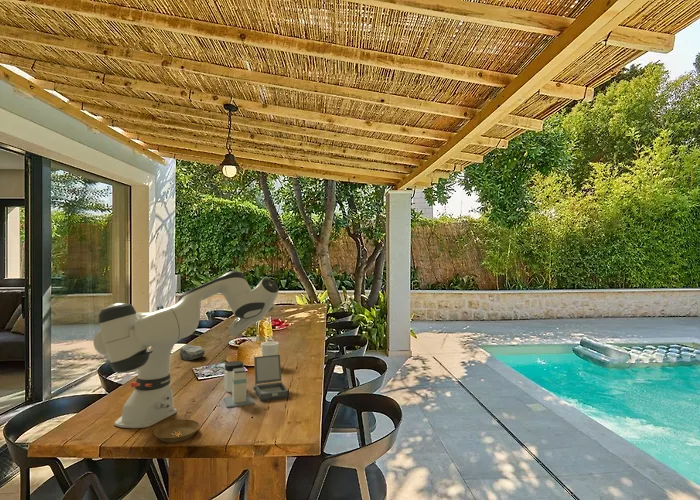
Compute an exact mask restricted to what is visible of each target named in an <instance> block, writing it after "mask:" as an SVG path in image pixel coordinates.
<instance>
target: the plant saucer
mask: <svg viewBox="0 0 700 500" xmlns="http://www.w3.org/2000/svg"><path fill="white" fill-rule="evenodd" d="M200 427H201V424H200V423H199V421H196V420H193V419H177V420H175V419H174V420H171V421H167V422H164V423H161V424H160V425H158V426H156V427H155V428H154V430H153V435H154V436H155V437H156V438H157V439H159V441H162V442H165V443H179V442H182V441H183V442H184V441H185V440H188V439H190V438H191V437H193V435H195V434H196V432H197V431H198V430H199V429H200ZM174 431H175V432H178V431H180V433H181V434H182V435H181V434H180V435H179V437H178V436H176V435H172V434H171V433H173V434H175V432H174ZM178 433H179V432H178ZM173 436H174V437H173ZM178 441H179V442H178Z"/></svg>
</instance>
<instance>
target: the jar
mask: <svg viewBox="0 0 700 500" xmlns="http://www.w3.org/2000/svg"><path fill="white" fill-rule="evenodd" d="M236 368H244V362H243V361H240V360H232V361H227V362H225V363H224V370H223V373H224V375H223V376H224V377H223V388H224V391H225V392H226V393H232V371H233V369H236Z"/></svg>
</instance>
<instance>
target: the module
mask: <svg viewBox="0 0 700 500" xmlns="http://www.w3.org/2000/svg"><path fill="white" fill-rule="evenodd" d="M246 395H247V371H246V369H245V367H243V368H236V369H233V371H232V392H231V396H232V400H233V402H234V403H237V402H244V401H246Z"/></svg>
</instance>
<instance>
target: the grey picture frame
mask: <svg viewBox="0 0 700 500" xmlns="http://www.w3.org/2000/svg"><path fill="white" fill-rule="evenodd" d="M253 365H254V385H255V384H257V385H259V384H267V383H275V382H282V372H281V371H282V368H281V355H280V354H277V355H271V356H262V355H261V356H254V357H253Z"/></svg>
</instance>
